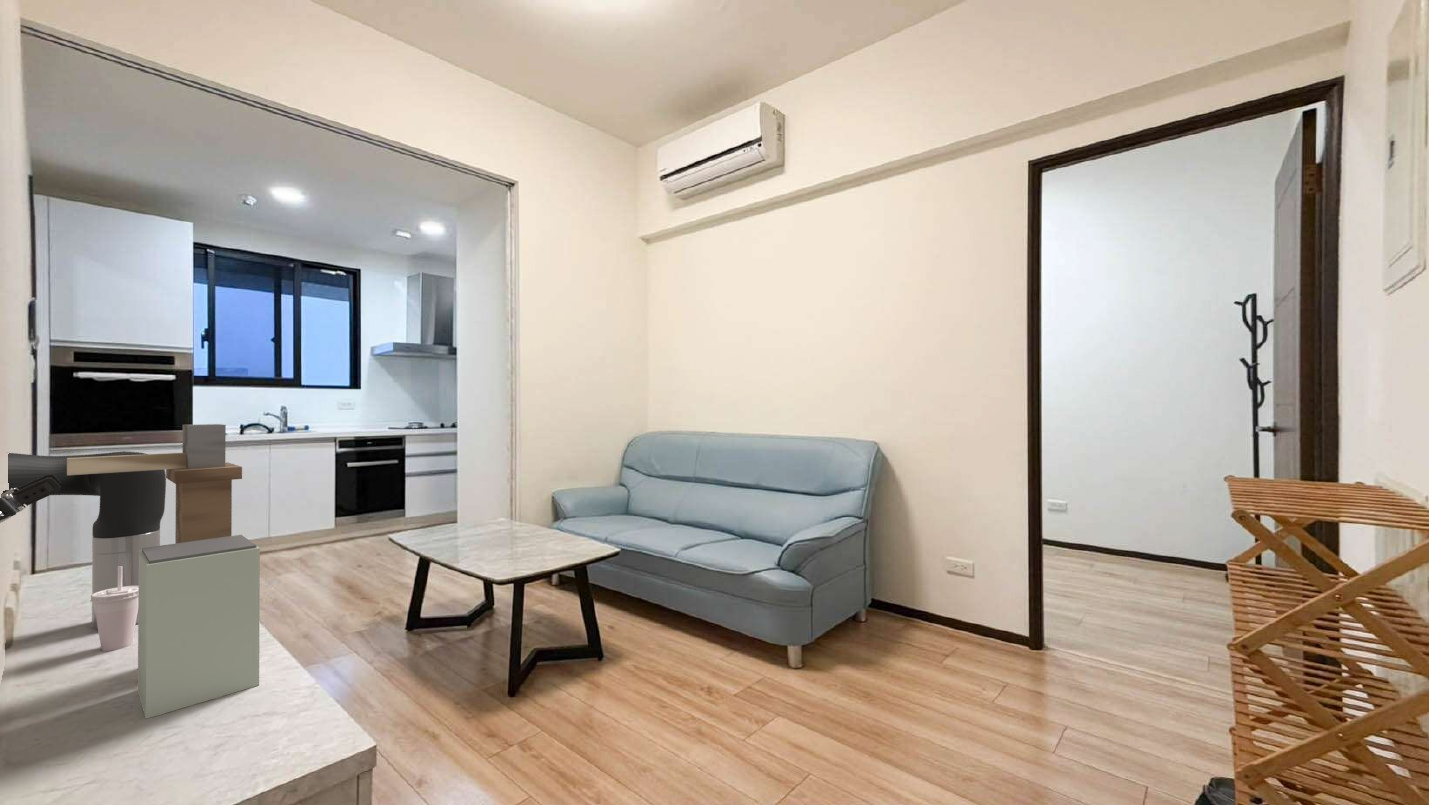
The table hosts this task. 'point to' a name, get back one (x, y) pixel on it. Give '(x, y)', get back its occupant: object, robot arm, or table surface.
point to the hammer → (163, 455)
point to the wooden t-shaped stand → (203, 501)
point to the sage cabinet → (197, 622)
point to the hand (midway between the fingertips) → (56, 480)
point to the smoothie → (116, 614)
